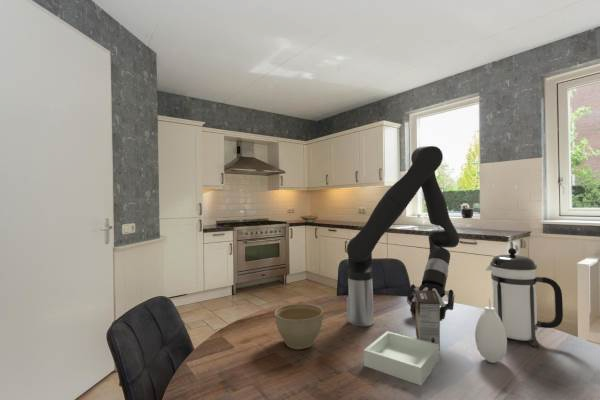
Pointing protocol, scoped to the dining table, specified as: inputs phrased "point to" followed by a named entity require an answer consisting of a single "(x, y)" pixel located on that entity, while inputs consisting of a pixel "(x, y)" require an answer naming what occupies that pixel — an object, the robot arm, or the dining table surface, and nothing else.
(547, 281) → the coffee press
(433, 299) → the coffee box
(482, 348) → the sauce bottle
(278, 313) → the planter bowl
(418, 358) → the tub
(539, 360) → the dining table surface
